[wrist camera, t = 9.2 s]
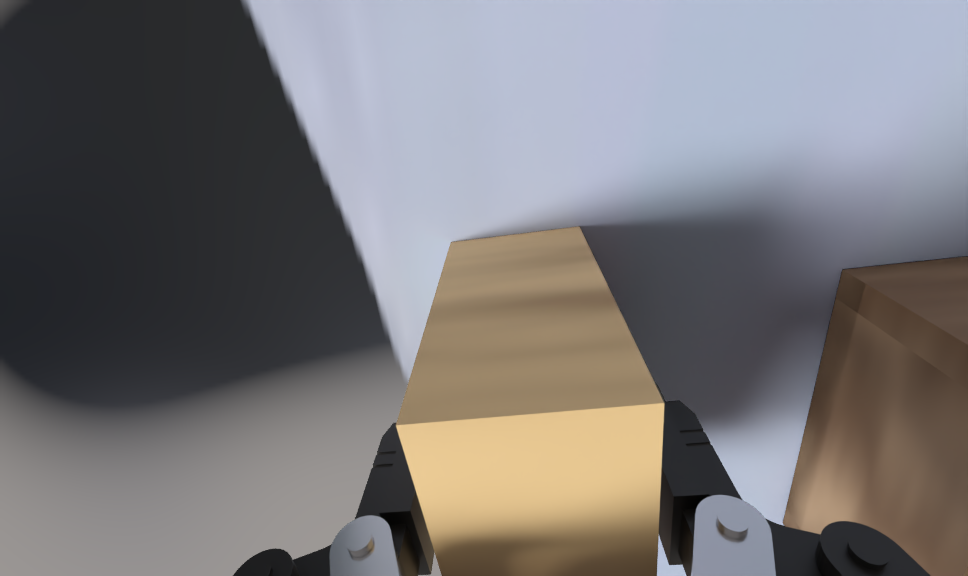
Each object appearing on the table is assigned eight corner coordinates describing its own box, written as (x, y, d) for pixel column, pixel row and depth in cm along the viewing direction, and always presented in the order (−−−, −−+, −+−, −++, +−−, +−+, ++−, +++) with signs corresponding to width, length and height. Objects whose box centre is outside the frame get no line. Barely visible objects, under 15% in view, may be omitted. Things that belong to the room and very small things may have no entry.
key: (451, 241, 14) (395, 425, 7) (579, 226, 14) (664, 403, 6) (490, 449, 18) (481, 704, 11) (590, 441, 17) (651, 701, 10)
